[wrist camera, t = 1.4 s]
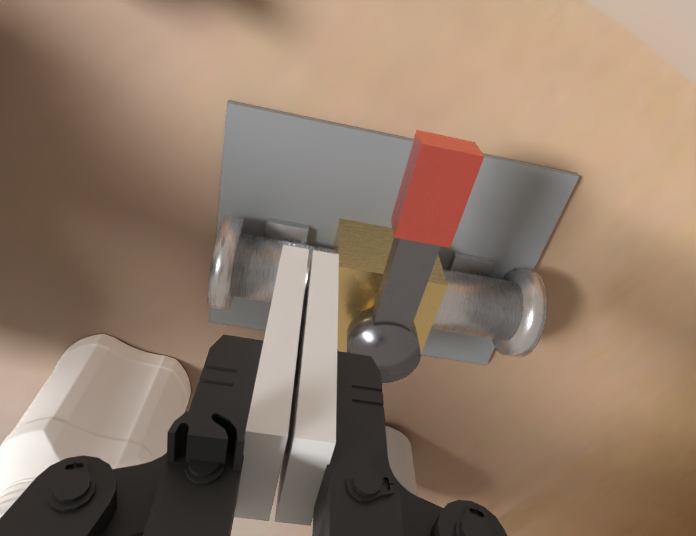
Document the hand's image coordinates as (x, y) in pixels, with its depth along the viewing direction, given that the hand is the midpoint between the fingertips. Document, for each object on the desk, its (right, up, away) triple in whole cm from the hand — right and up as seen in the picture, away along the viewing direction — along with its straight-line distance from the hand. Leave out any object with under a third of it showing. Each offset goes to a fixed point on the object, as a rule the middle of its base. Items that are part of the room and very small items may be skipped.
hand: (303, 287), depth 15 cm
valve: (+3, +1, +24) cm, 24 cm away
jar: (-19, -10, +31) cm, 37 cm away
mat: (+4, +2, +23) cm, 24 cm away
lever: (+5, +1, +14) cm, 14 cm away
